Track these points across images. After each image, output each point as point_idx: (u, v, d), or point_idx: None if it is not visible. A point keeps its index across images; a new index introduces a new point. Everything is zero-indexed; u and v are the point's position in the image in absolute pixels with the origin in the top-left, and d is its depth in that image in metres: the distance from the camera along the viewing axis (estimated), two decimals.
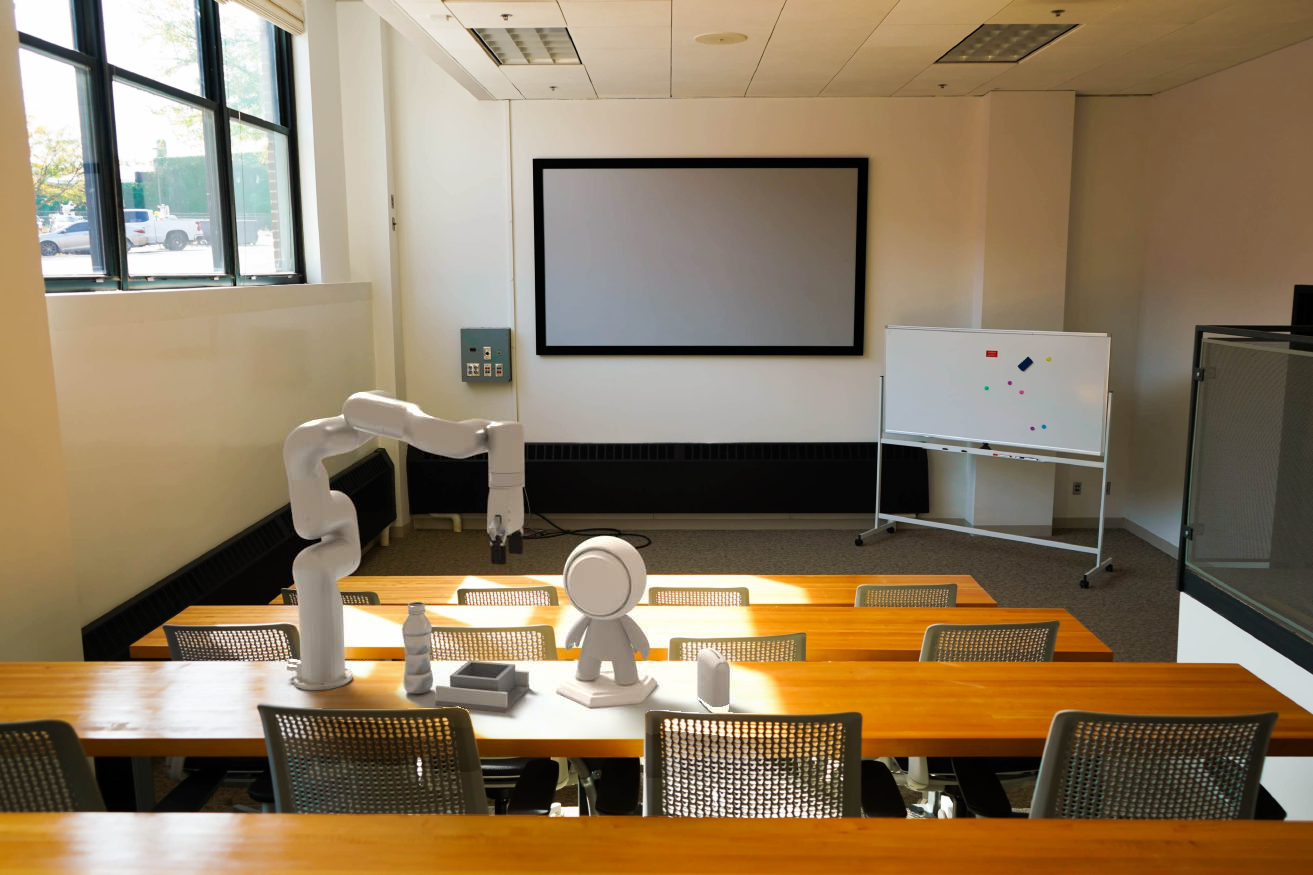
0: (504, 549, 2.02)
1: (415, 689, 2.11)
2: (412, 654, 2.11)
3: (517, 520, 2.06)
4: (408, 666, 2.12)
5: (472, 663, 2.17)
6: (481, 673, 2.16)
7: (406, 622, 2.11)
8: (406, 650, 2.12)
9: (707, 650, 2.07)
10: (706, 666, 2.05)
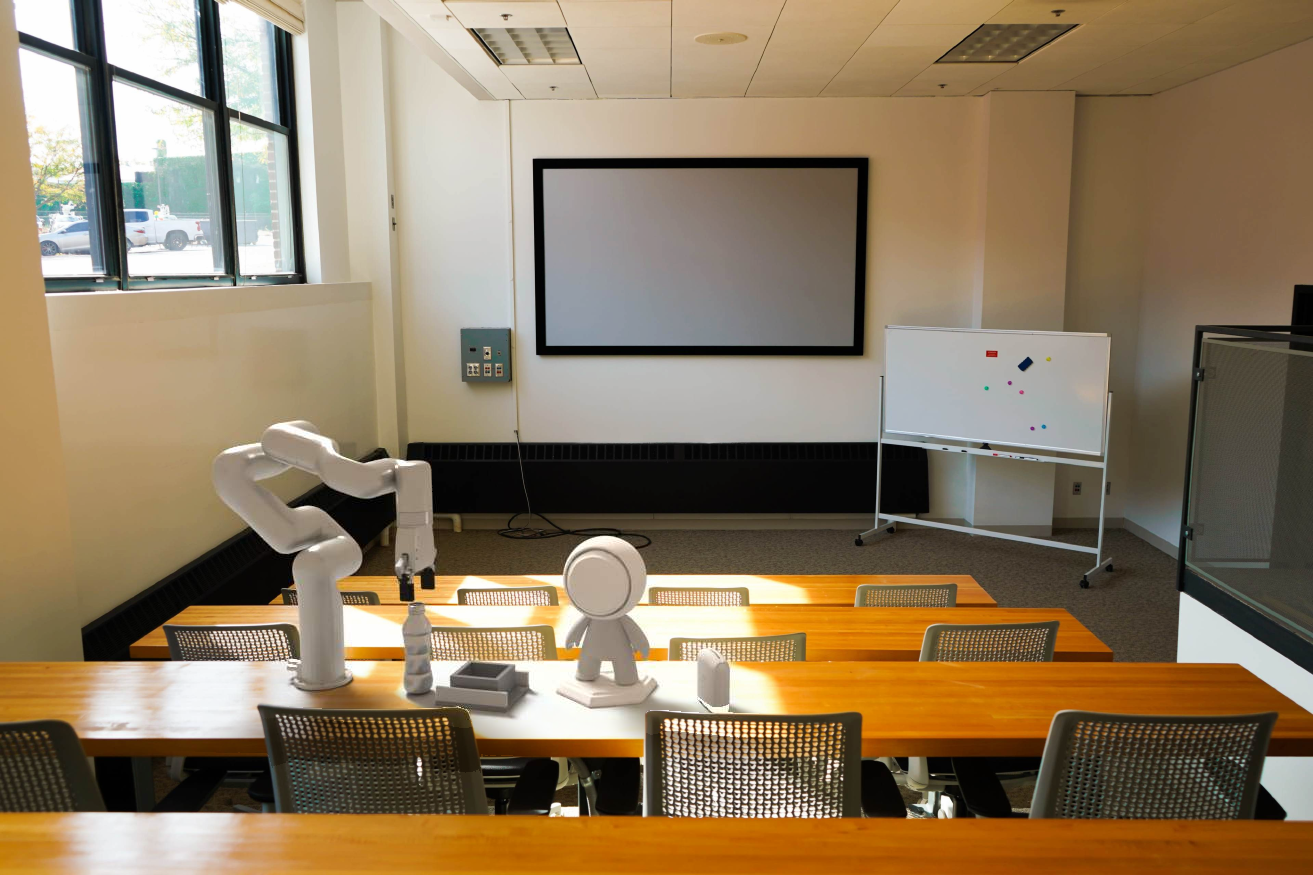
0: (412, 586, 2.06)
1: (415, 689, 2.11)
2: (412, 654, 2.11)
3: (426, 558, 2.11)
4: (408, 666, 2.12)
5: (472, 663, 2.17)
6: (481, 673, 2.16)
7: (406, 622, 2.11)
8: (406, 650, 2.12)
9: (707, 650, 2.07)
10: (706, 666, 2.05)
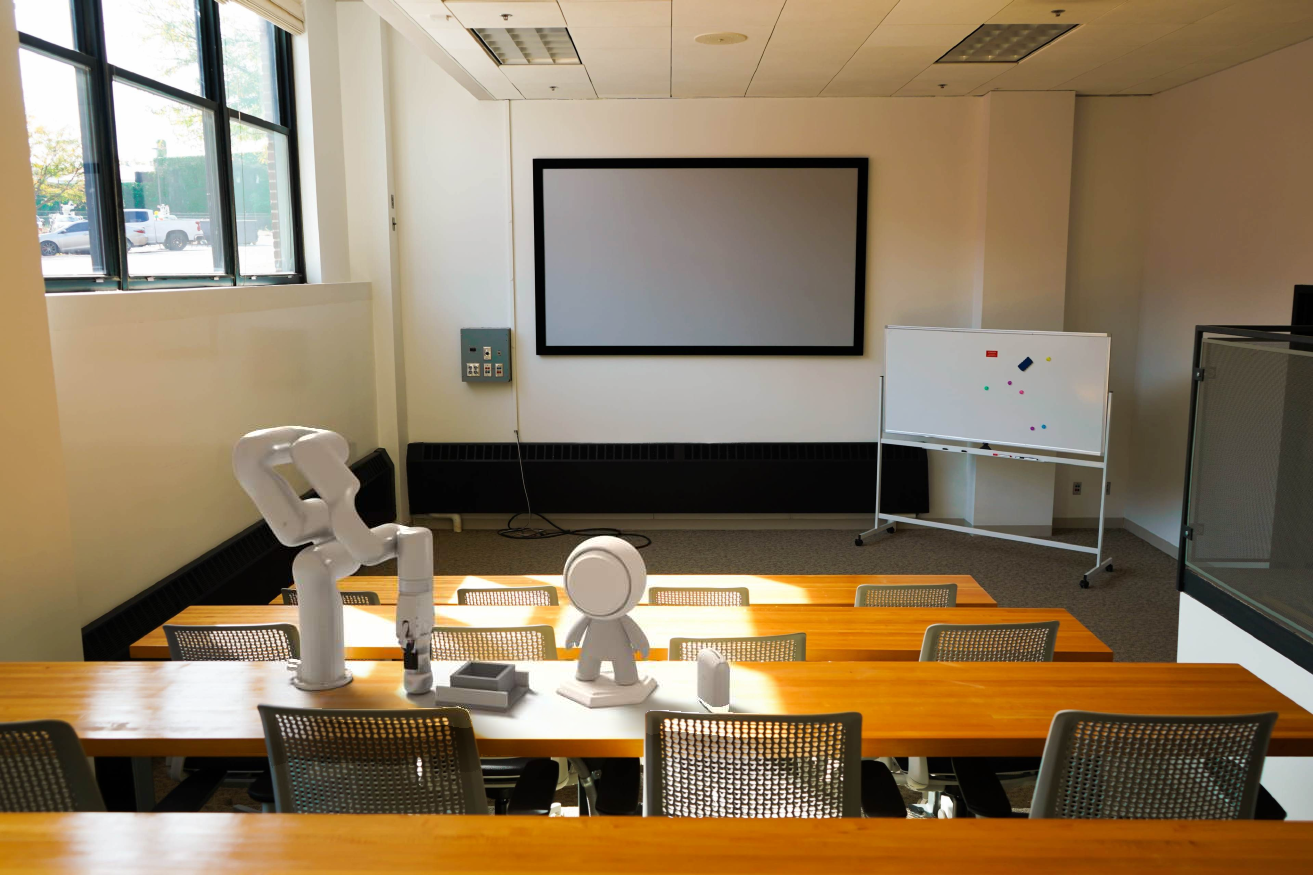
0: (416, 655, 2.10)
1: (415, 689, 2.11)
2: None
3: None
4: None
5: (472, 663, 2.17)
6: (481, 673, 2.16)
7: None
8: None
9: (707, 650, 2.07)
10: (706, 666, 2.05)
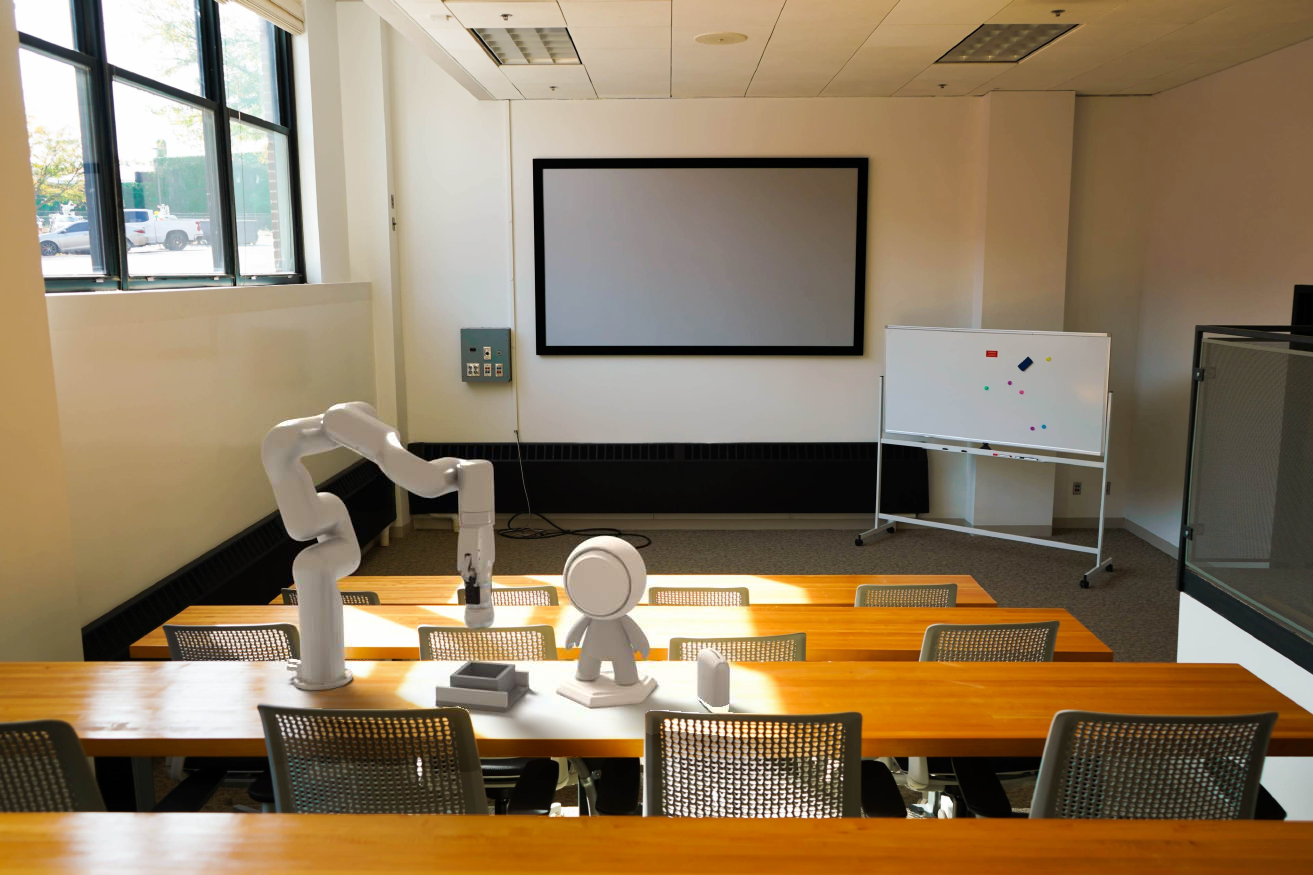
0: (478, 589, 2.06)
1: (477, 624, 2.07)
2: None
3: None
4: None
5: (472, 663, 2.17)
6: (481, 673, 2.16)
7: None
8: None
9: (707, 650, 2.07)
10: (706, 666, 2.05)
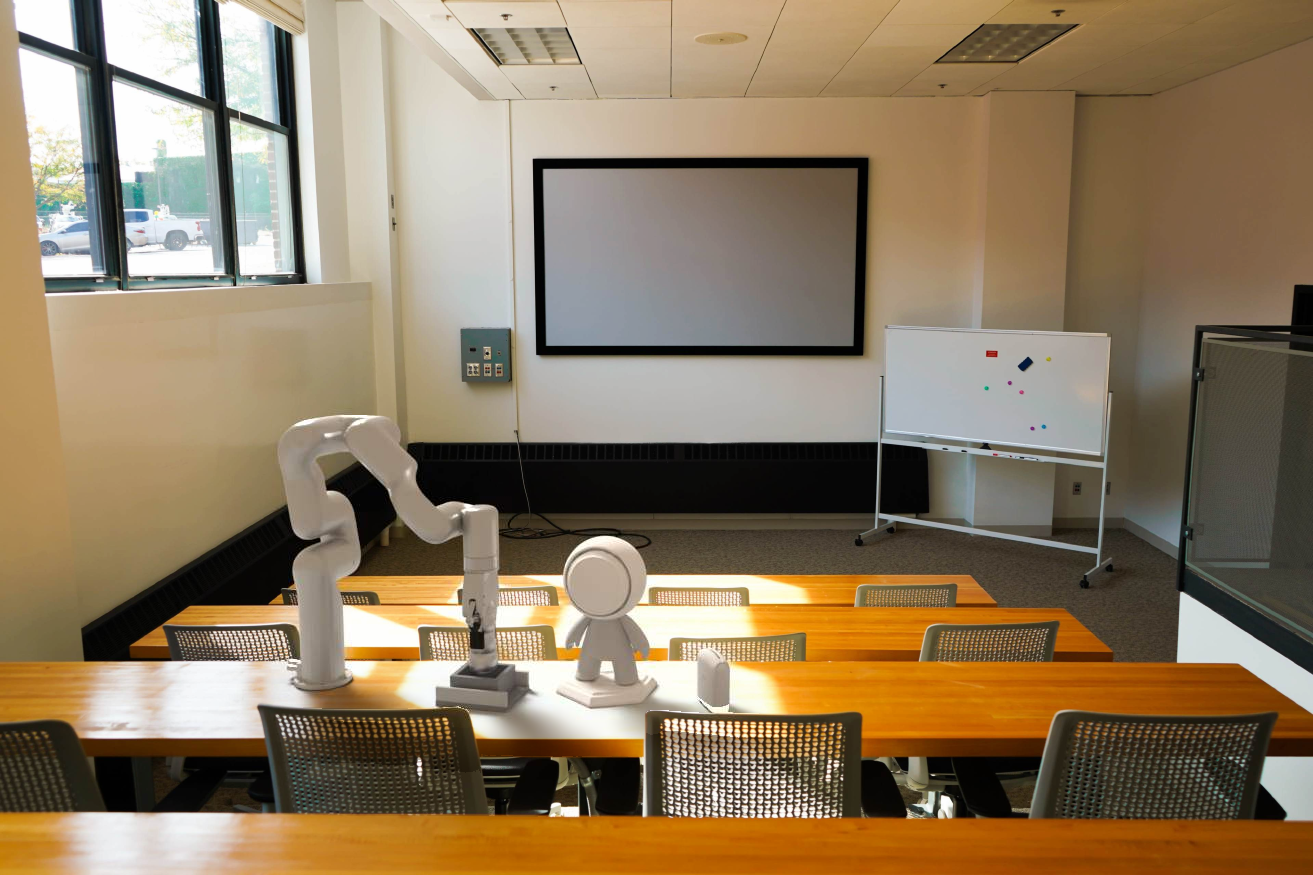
0: (482, 634, 2.07)
1: (481, 669, 2.08)
2: None
3: None
4: None
5: None
6: None
7: None
8: None
9: (707, 650, 2.07)
10: (706, 666, 2.05)
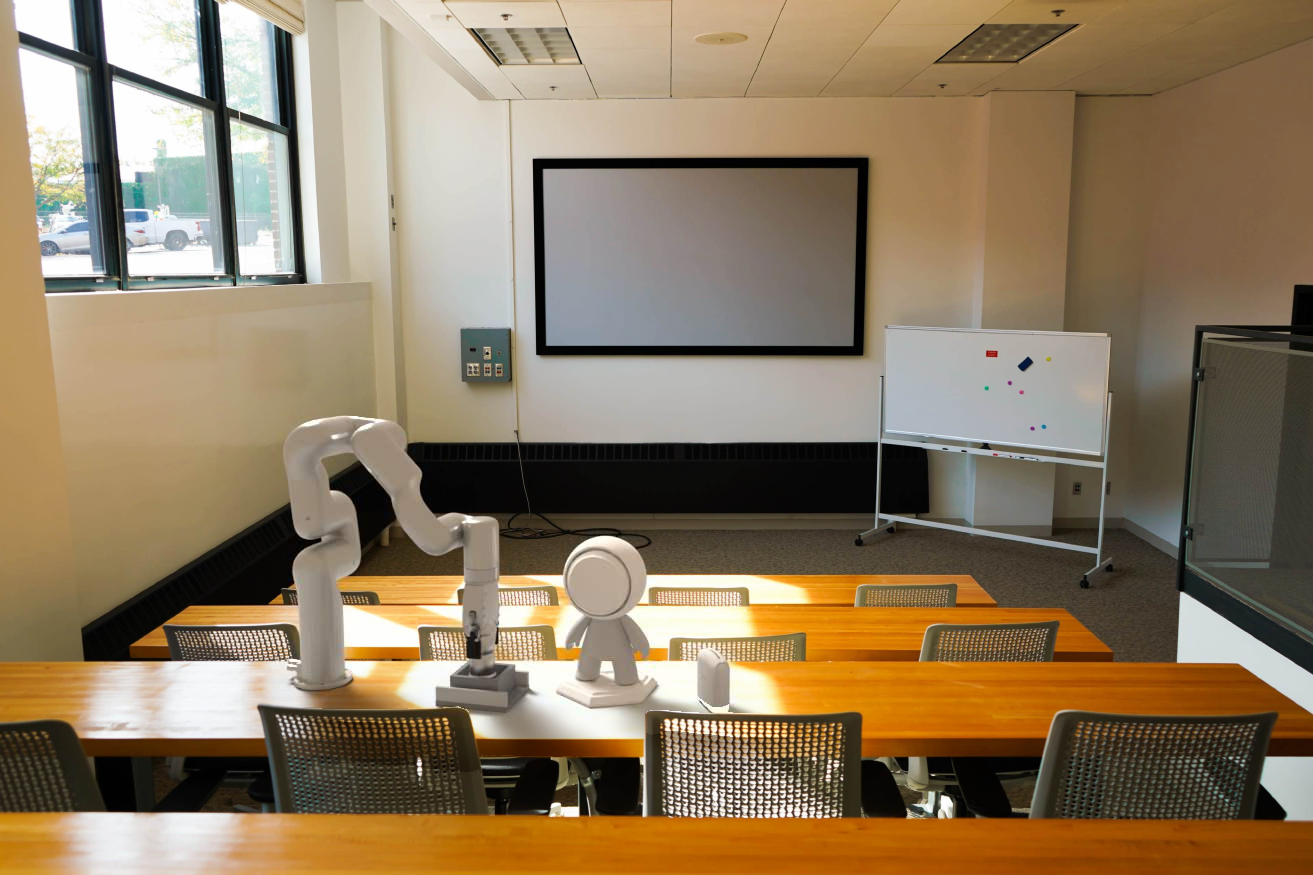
0: (479, 644, 2.05)
1: None
2: None
3: (492, 614, 2.10)
4: (472, 666, 2.09)
5: None
6: None
7: None
8: None
9: (707, 650, 2.07)
10: (706, 666, 2.05)
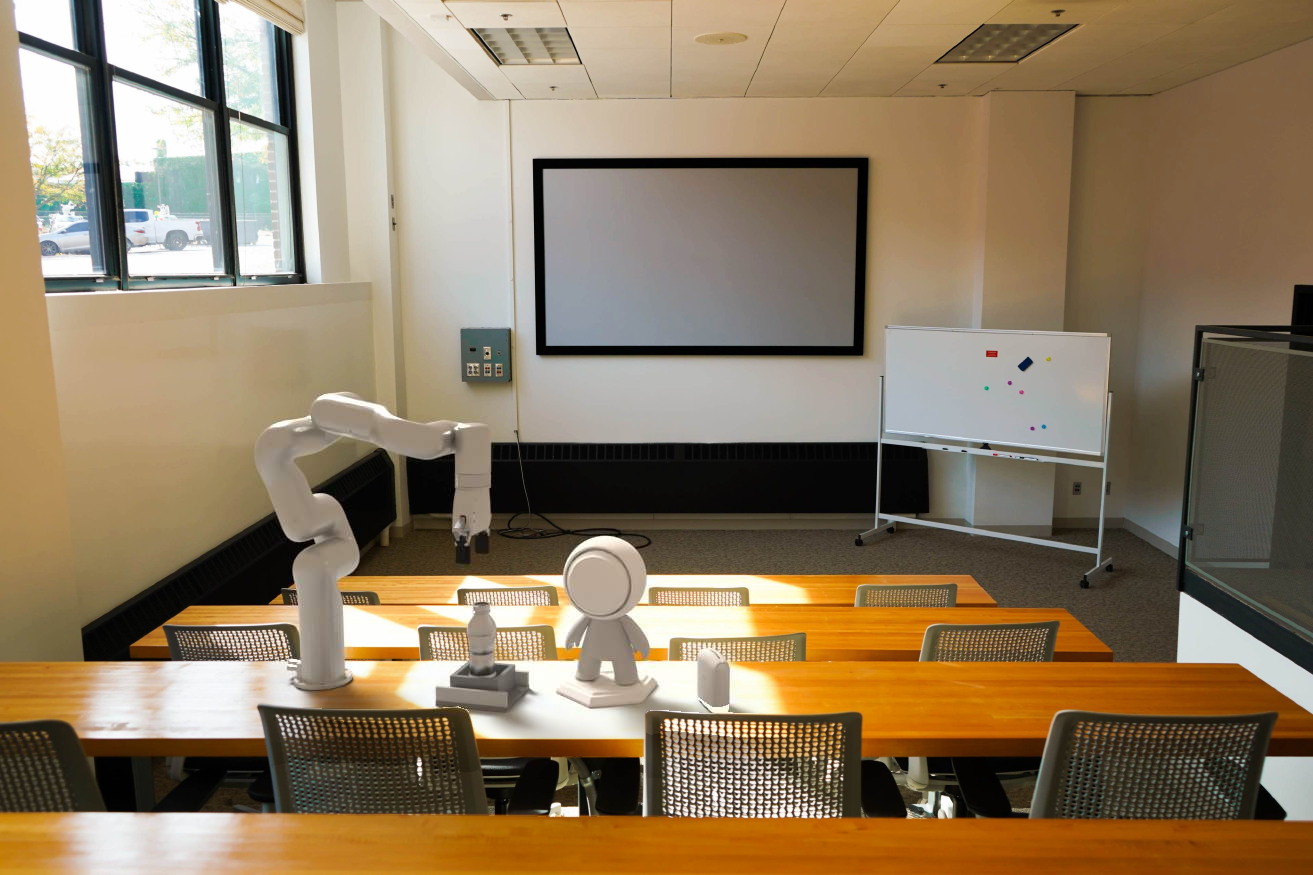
0: (469, 549, 2.05)
1: None
2: (476, 654, 2.08)
3: (483, 521, 2.09)
4: (472, 666, 2.09)
5: None
6: None
7: (471, 622, 2.08)
8: (470, 650, 2.09)
9: (707, 650, 2.07)
10: (706, 666, 2.05)
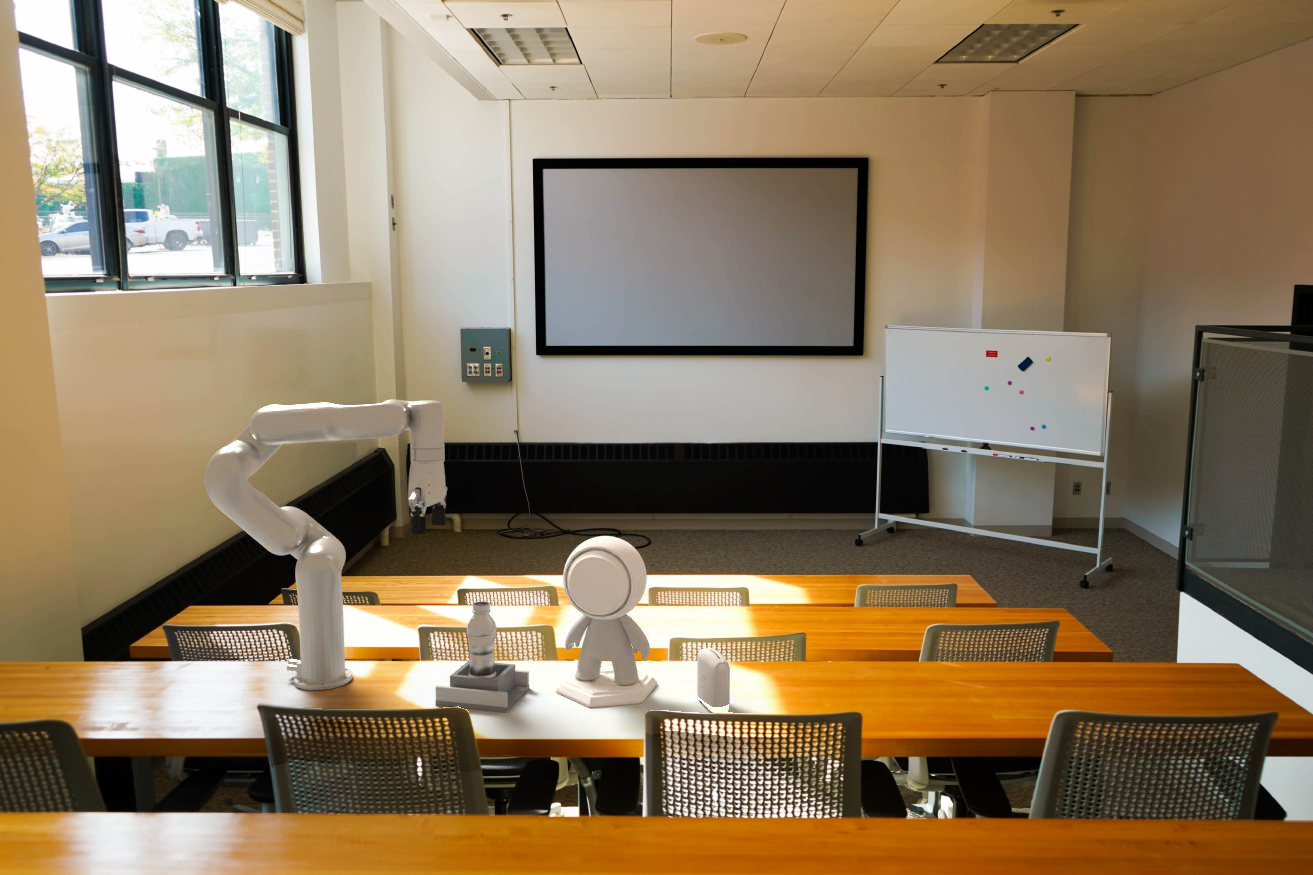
0: (424, 519, 2.16)
1: None
2: (476, 654, 2.08)
3: (438, 493, 2.20)
4: (472, 666, 2.09)
5: None
6: None
7: (471, 622, 2.08)
8: (470, 650, 2.09)
9: (707, 650, 2.07)
10: (706, 666, 2.05)
